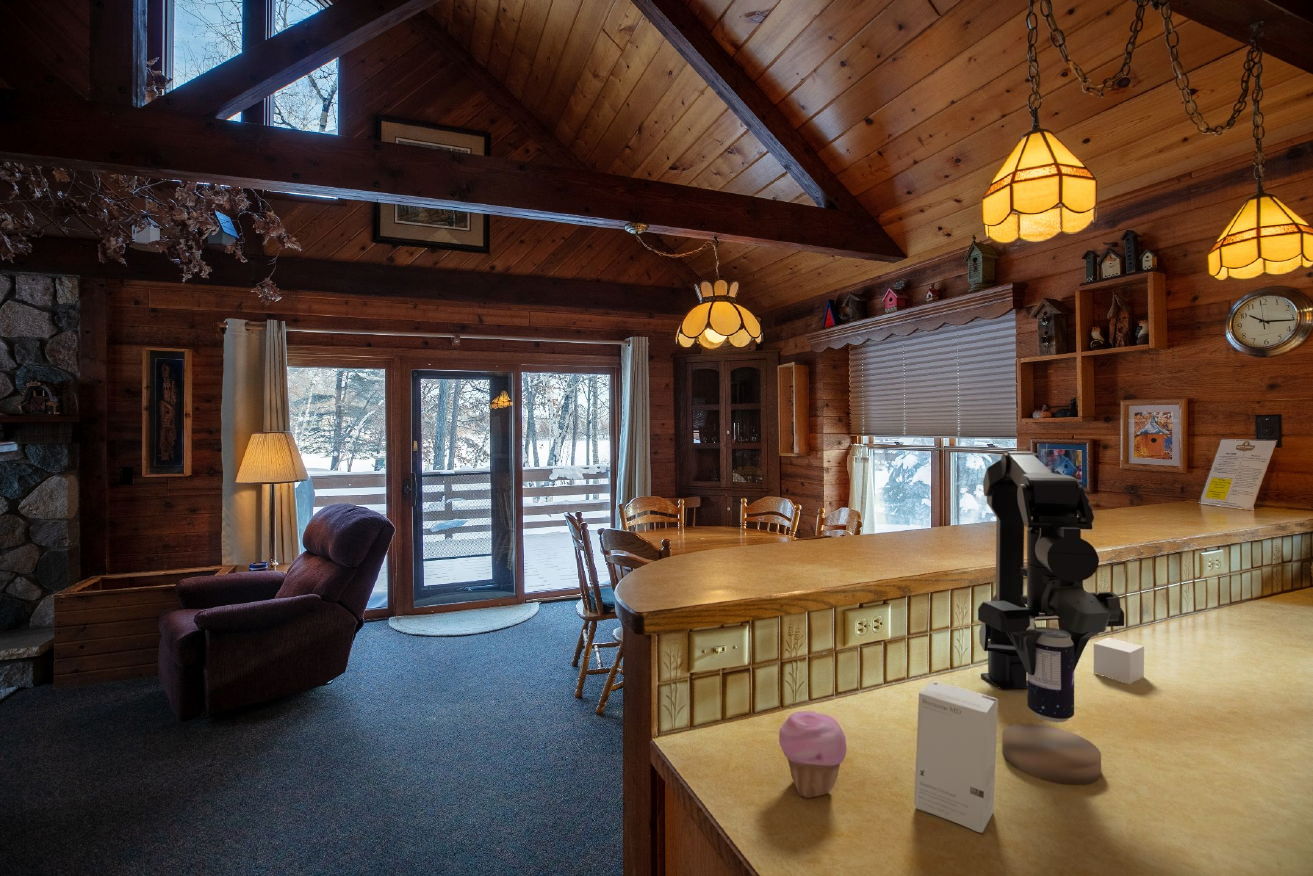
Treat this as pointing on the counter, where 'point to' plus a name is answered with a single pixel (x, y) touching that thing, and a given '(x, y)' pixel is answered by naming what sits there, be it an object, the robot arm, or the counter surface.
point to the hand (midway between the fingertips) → (1050, 673)
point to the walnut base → (1051, 754)
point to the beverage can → (1052, 676)
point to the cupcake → (813, 751)
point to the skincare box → (956, 754)
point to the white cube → (1119, 660)
